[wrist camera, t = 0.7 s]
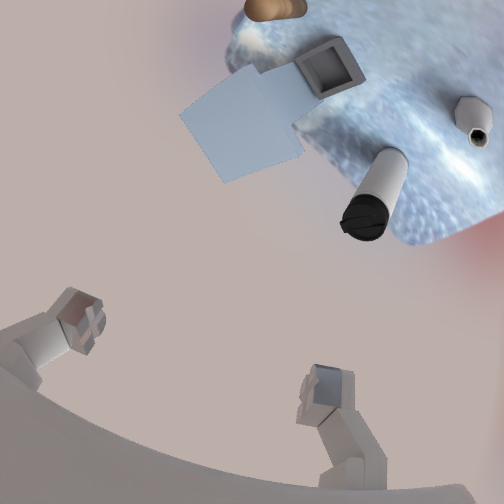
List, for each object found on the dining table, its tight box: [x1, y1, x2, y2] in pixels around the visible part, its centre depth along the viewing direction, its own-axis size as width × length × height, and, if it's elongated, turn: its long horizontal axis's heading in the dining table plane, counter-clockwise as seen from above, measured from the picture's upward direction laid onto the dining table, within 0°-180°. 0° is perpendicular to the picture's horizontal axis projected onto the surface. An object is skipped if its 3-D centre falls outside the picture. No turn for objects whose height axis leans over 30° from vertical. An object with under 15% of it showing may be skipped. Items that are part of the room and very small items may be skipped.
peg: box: [244, 0, 307, 22], centre depth 36 cm, size 4×4×12 cm
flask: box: [454, 97, 494, 149], centre depth 32 cm, size 7×7×10 cm
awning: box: [179, 61, 324, 184], centre depth 38 cm, size 12×10×28 cm
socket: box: [295, 37, 366, 100], centre depth 43 cm, size 8×8×4 cm
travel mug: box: [340, 147, 409, 241], centre depth 45 cm, size 6×7×20 cm
